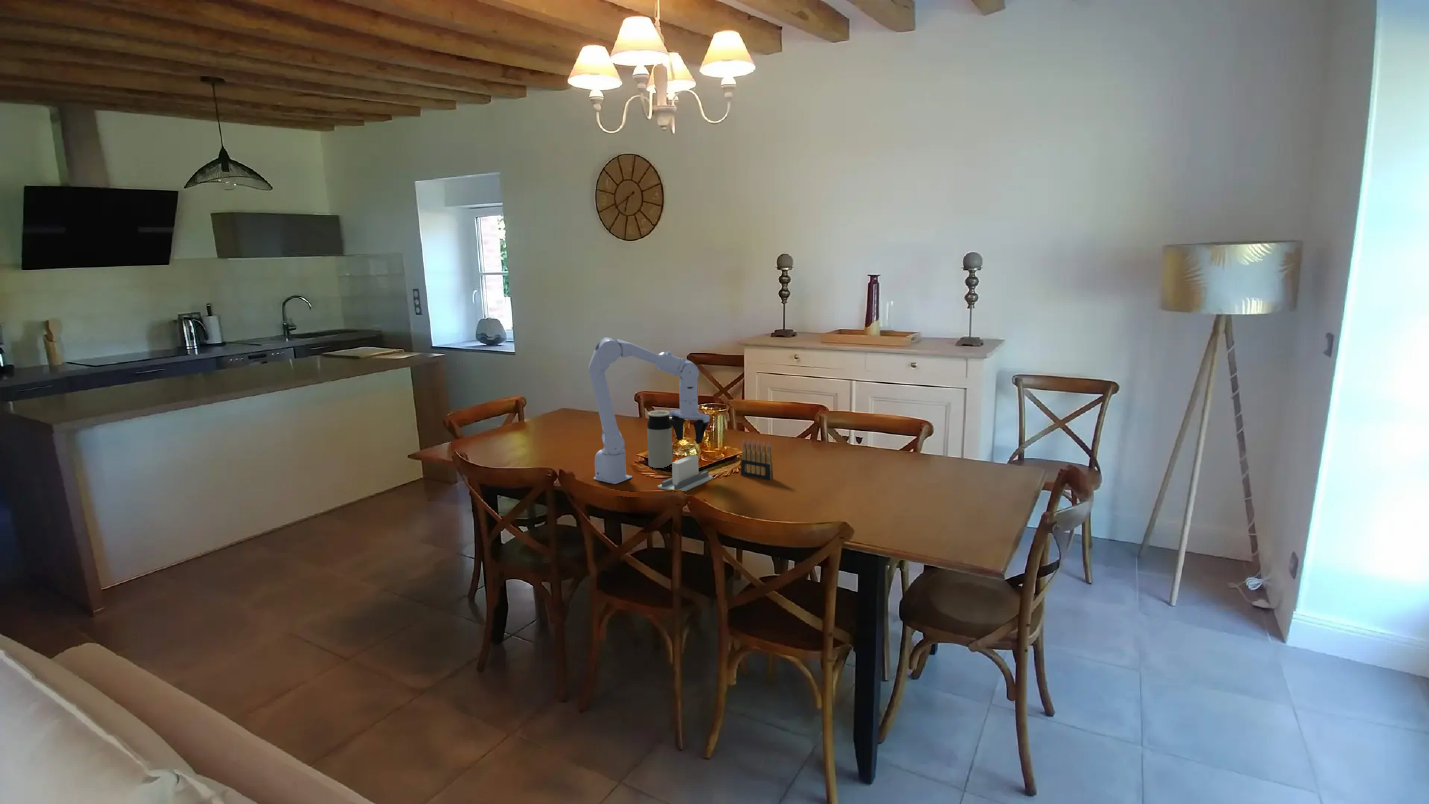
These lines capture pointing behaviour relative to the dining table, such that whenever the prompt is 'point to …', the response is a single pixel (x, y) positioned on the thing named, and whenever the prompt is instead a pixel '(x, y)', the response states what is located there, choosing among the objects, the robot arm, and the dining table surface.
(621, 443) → the robot arm
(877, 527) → the dining table surface
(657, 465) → the travel mug
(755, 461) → the ammunition clip
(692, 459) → the door panel
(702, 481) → the track
